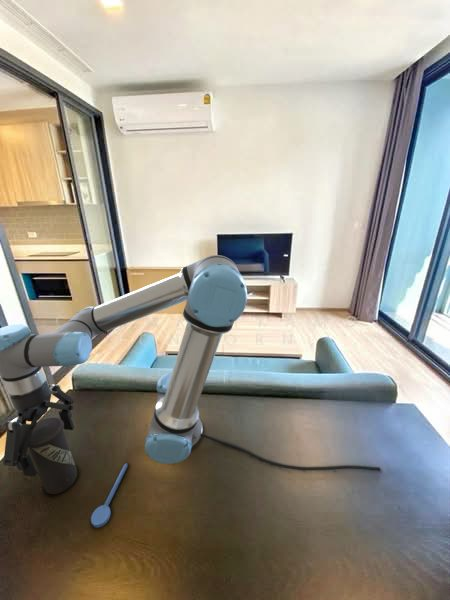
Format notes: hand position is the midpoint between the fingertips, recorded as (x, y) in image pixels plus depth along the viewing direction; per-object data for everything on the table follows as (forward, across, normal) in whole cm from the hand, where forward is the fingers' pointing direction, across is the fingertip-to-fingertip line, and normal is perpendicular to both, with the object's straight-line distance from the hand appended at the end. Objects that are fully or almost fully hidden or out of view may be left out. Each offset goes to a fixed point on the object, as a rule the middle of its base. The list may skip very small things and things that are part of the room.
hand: (51, 449), depth 68 cm
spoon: (+12, +2, +16) cm, 21 cm away
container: (+12, 0, 0) cm, 12 cm away
